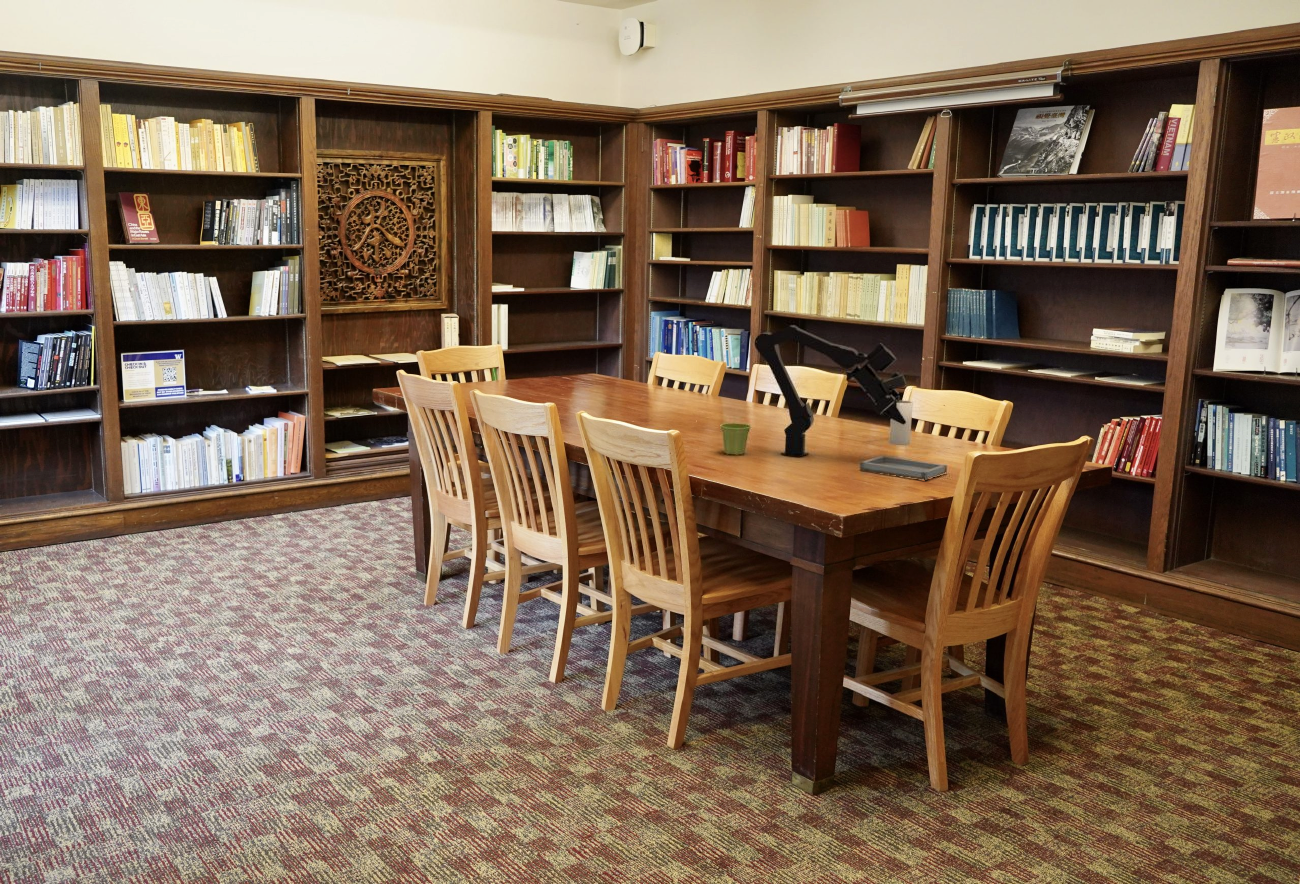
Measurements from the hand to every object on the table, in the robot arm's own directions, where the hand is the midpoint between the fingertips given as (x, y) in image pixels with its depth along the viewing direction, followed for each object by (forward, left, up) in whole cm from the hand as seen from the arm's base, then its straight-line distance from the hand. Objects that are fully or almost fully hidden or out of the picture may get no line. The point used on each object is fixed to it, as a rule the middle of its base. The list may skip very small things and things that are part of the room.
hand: (905, 422), depth 329 cm
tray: (-12, -6, -12) cm, 19 cm away
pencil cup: (-1, +1, -7) cm, 7 cm away
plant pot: (-24, +44, -13) cm, 52 cm away
